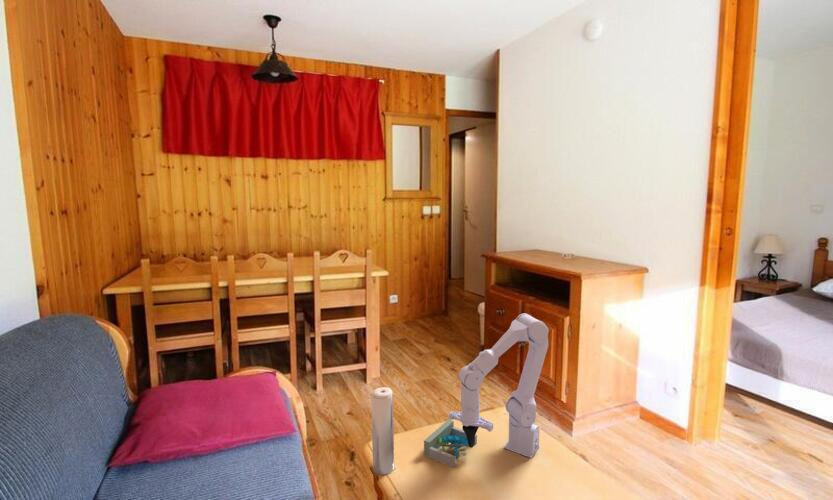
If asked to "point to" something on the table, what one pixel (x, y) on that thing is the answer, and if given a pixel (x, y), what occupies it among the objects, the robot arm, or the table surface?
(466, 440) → the blue toy cog wheel
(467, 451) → the table surface
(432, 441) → the green u-shaped bracket
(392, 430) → the white cylindrical tube
